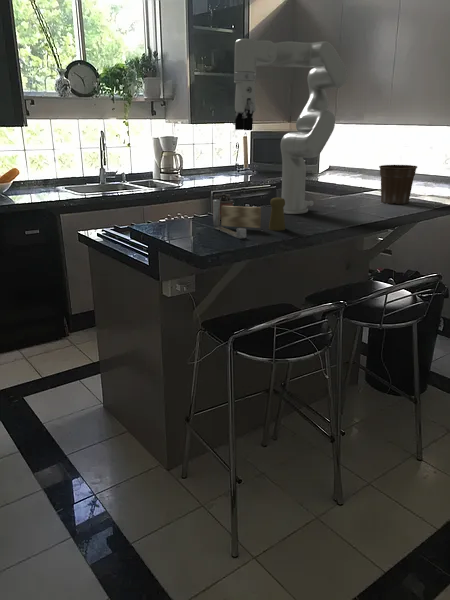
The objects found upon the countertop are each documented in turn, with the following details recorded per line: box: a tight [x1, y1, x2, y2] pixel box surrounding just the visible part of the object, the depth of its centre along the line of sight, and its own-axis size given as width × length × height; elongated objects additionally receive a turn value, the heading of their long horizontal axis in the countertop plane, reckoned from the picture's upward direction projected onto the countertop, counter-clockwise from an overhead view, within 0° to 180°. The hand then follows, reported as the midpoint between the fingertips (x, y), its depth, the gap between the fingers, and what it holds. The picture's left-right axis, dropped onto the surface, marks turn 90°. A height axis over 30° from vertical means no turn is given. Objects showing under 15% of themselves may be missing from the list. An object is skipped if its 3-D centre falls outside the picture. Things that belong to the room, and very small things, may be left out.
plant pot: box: [378, 164, 418, 205], centre depth 231 cm, size 16×16×16 cm
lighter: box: [211, 192, 234, 220], centre depth 197 cm, size 8×3×10 cm, turn 92°
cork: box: [268, 196, 286, 232], centre depth 182 cm, size 6×6×11 cm
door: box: [220, 205, 262, 229], centre depth 182 cm, size 14×3×7 cm, turn 74°
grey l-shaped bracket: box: [212, 199, 247, 239], centre depth 176 cm, size 20×2×10 cm, turn 29°
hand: (243, 129), depth 185 cm, fingers open, 9 cm apart
